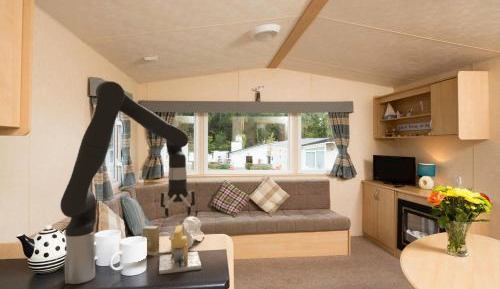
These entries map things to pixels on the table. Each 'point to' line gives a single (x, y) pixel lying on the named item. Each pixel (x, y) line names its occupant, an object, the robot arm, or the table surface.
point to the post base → (175, 265)
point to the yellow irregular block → (178, 237)
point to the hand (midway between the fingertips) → (178, 215)
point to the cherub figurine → (190, 229)
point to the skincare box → (152, 239)
